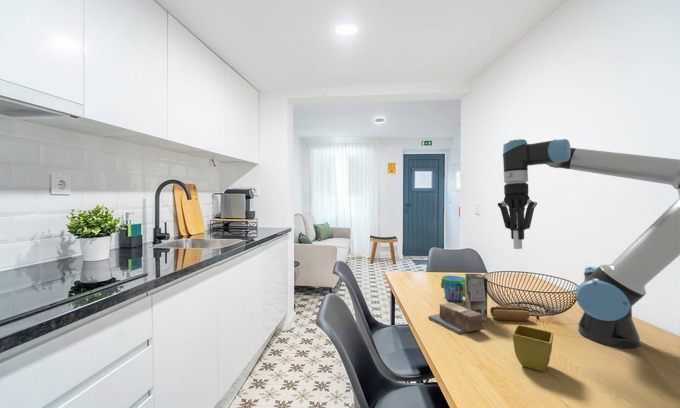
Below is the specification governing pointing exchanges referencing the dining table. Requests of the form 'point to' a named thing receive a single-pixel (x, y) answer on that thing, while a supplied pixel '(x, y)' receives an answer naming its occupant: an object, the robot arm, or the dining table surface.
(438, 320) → the mat
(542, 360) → the flower pot
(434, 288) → the dining table surface
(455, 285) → the snack cup
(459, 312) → the walnut block
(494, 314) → the food
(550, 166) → the robot arm
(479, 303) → the coffee box
